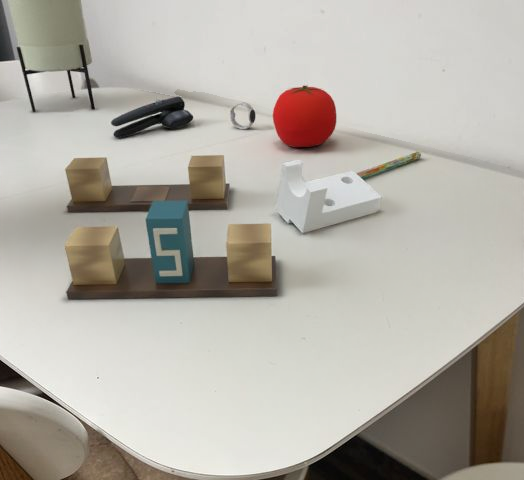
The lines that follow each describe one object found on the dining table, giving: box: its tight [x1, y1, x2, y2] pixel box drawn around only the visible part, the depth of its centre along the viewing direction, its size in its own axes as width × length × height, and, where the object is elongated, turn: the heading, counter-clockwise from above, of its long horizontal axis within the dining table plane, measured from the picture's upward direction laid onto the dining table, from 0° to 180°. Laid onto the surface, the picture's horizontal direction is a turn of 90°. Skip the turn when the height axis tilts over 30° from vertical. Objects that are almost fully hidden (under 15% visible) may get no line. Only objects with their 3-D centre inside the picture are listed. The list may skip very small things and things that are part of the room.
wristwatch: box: [229, 101, 256, 130], centre depth 117 cm, size 3×5×5 cm, turn 64°
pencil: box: [355, 151, 422, 180], centre depth 96 cm, size 1×1×18 cm
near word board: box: [63, 223, 277, 300], centre depth 67 cm, size 24×8×6 cm, turn 90°
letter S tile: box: [145, 200, 195, 284], centre depth 65 cm, size 4×5×8 cm
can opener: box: [110, 96, 194, 139], centre depth 117 cm, size 18×7×6 cm, turn 128°
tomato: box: [272, 84, 337, 148], centre depth 106 cm, size 12×12×10 cm
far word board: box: [64, 154, 231, 213], centre depth 87 cm, size 24×8×6 cm, turn 90°
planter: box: [6, 0, 96, 113], centre depth 130 cm, size 15×16×23 cm
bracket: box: [275, 159, 382, 234], centre depth 80 cm, size 13×7×8 cm, turn 120°
